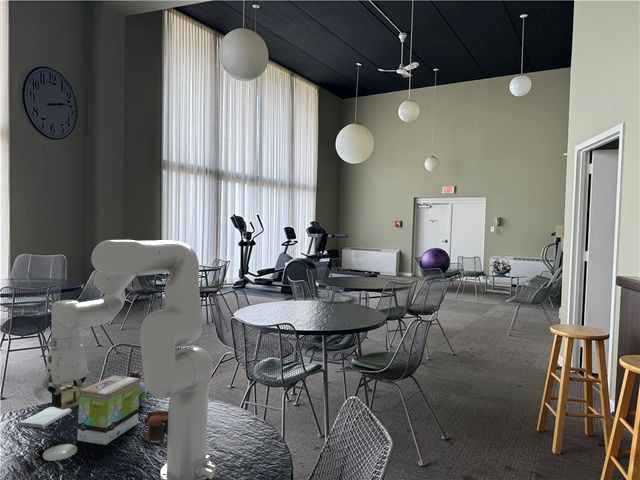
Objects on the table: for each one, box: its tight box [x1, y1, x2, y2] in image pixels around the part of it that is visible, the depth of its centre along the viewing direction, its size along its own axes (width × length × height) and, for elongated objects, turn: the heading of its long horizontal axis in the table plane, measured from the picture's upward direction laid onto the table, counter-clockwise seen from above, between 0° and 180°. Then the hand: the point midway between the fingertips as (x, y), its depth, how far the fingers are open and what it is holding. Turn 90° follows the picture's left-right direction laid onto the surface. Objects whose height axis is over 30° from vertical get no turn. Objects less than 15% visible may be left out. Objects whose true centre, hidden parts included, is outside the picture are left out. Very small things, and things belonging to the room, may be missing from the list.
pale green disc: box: [42, 443, 78, 462], centre depth 120 cm, size 8×8×1 cm
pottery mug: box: [143, 410, 168, 442], centre depth 132 cm, size 12×10×8 cm
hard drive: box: [18, 406, 72, 429], centre depth 141 cm, size 2×8×12 cm
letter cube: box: [52, 384, 81, 410], centre depth 132 cm, size 5×5×5 cm
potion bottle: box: [127, 370, 148, 407], centre depth 153 cm, size 9×9×12 cm
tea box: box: [76, 375, 141, 446], centre depth 133 cm, size 15×10×15 cm, turn 168°
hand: (66, 402), depth 132 cm, fingers closed on letter cube, 5 cm apart
